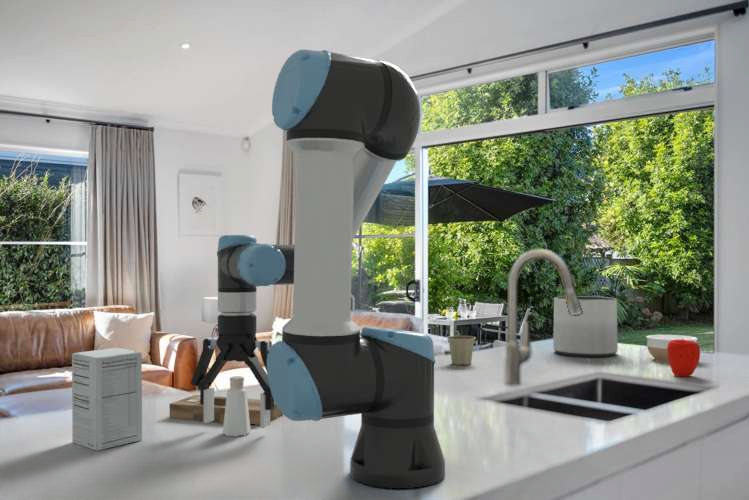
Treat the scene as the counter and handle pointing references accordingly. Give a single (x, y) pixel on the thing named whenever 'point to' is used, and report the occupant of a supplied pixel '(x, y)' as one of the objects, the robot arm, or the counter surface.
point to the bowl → (663, 345)
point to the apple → (683, 357)
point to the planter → (586, 327)
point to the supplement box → (106, 398)
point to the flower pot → (461, 349)
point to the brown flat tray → (216, 409)
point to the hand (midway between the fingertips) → (236, 424)
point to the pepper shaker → (236, 409)
